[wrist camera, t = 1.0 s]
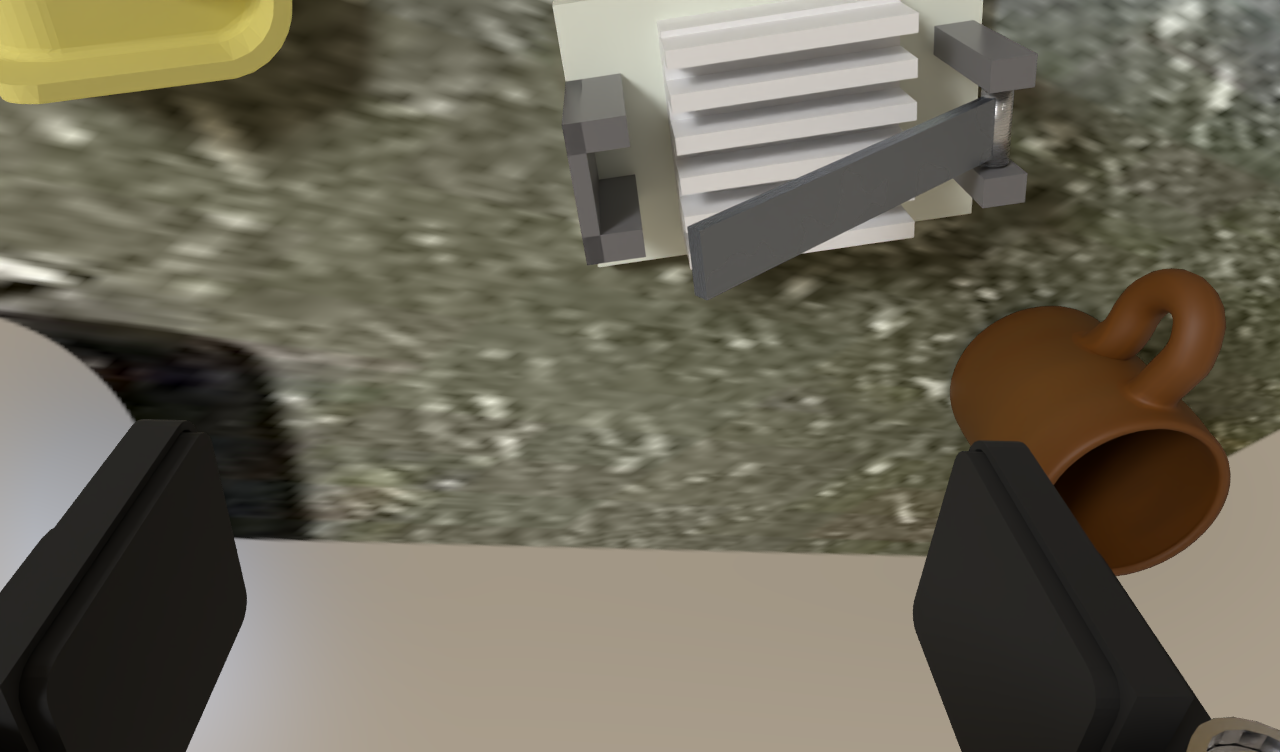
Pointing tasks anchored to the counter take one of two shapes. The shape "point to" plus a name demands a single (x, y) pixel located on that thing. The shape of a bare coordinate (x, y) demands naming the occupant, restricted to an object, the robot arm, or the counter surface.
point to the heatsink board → (762, 107)
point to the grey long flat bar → (847, 193)
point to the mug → (1109, 412)
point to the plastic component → (132, 44)
